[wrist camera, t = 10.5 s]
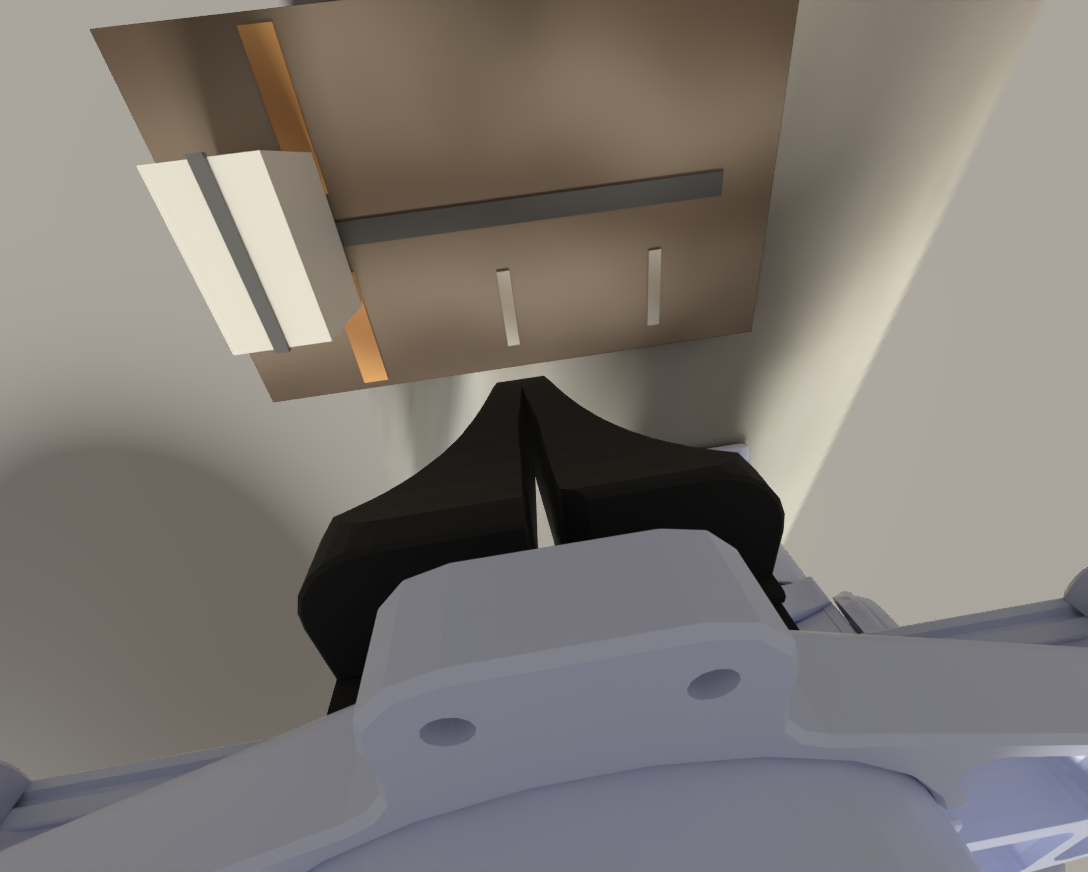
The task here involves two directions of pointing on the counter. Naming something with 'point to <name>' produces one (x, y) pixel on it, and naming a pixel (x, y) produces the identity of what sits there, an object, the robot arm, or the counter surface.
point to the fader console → (494, 165)
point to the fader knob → (258, 245)
